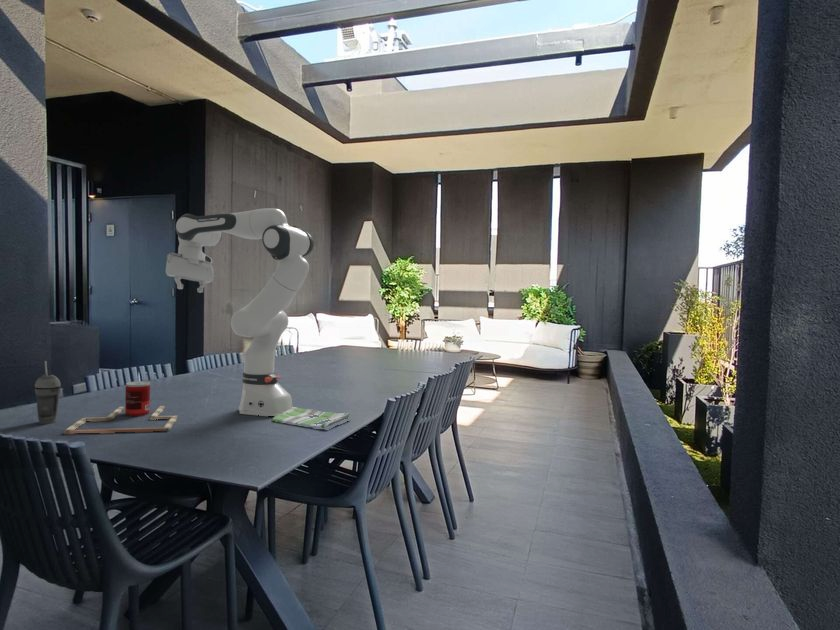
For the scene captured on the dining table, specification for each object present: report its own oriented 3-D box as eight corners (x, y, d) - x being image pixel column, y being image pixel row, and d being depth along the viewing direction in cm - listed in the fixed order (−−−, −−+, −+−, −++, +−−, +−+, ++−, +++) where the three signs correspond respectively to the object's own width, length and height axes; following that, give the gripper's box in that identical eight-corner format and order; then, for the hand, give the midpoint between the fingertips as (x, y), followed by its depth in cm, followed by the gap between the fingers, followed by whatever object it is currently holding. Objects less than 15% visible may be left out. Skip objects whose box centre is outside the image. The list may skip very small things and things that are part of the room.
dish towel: (326, 432, 175) (326, 422, 175) (269, 423, 184) (270, 413, 184) (352, 422, 191) (352, 412, 191) (299, 413, 200) (299, 404, 199)
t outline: (97, 409, 190) (97, 407, 190) (184, 408, 198) (184, 405, 198) (63, 434, 159) (63, 431, 159) (168, 431, 167) (168, 428, 167)
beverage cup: (43, 425, 167) (44, 363, 166) (28, 423, 170) (28, 361, 169) (66, 420, 174) (66, 360, 173) (50, 418, 176) (51, 359, 176)
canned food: (146, 410, 193) (147, 380, 192) (151, 414, 187) (152, 384, 186) (123, 412, 188) (123, 382, 187) (127, 417, 182) (128, 385, 181)
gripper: (173, 249, 200) (173, 285, 198) (216, 260, 218) (216, 293, 216) (161, 252, 203) (161, 287, 201) (205, 262, 221) (205, 295, 219)
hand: (190, 290), depth 208 cm, fingers open, 8 cm apart
